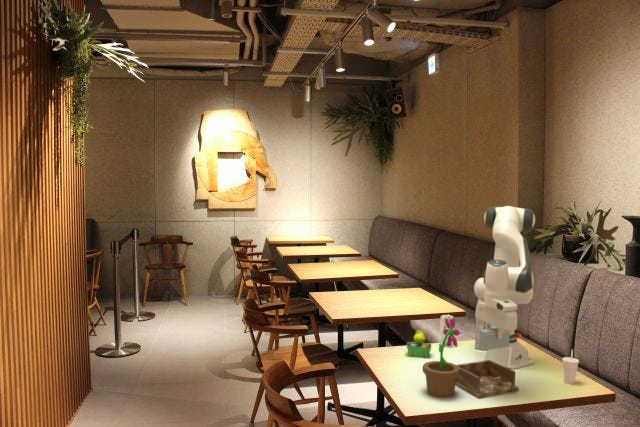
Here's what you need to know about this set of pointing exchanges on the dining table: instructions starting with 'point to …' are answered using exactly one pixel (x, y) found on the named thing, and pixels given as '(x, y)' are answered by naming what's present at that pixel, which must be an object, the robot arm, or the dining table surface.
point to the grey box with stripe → (493, 339)
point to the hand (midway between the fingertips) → (494, 336)
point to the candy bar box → (478, 332)
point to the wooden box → (486, 379)
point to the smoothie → (570, 368)
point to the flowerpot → (443, 367)
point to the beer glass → (443, 326)
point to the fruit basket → (419, 346)
